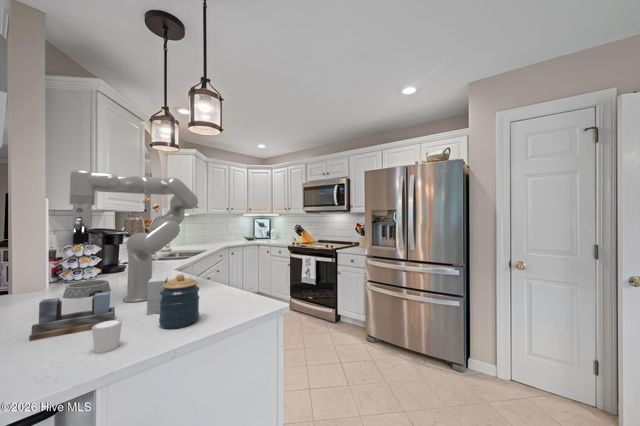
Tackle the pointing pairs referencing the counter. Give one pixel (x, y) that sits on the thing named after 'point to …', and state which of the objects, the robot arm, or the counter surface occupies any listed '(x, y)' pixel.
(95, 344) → the white cup
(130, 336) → the counter surface
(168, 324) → the canister
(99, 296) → the blue-grey block
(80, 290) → the dog bowl
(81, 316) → the rail
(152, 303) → the small box
